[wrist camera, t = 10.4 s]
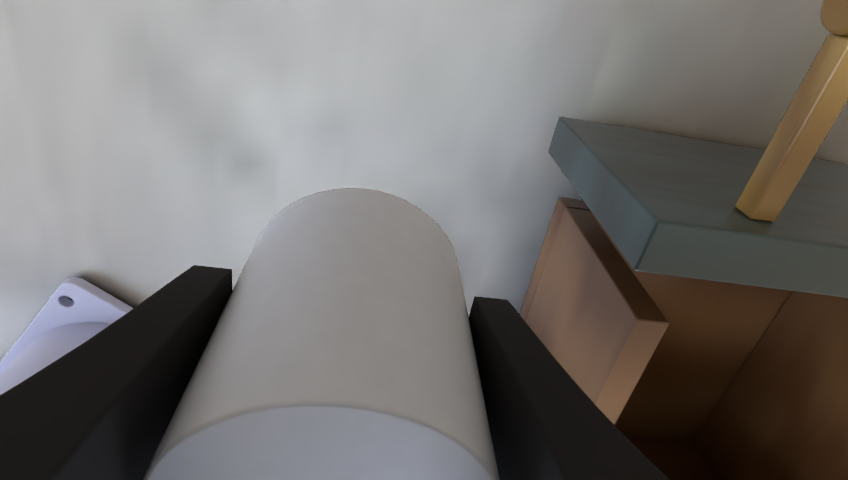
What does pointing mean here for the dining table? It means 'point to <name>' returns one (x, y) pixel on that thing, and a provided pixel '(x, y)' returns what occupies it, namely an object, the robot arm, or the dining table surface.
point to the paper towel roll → (337, 356)
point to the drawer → (708, 287)
